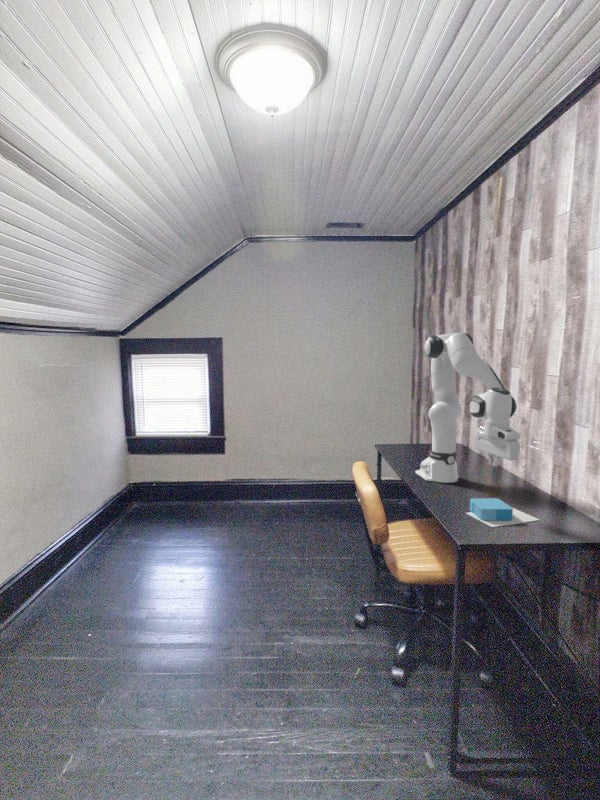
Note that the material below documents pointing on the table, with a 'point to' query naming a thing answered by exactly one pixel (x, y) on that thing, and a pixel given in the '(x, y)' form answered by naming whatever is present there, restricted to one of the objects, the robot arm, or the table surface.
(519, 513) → the mat
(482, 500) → the data package
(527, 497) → the table surface
